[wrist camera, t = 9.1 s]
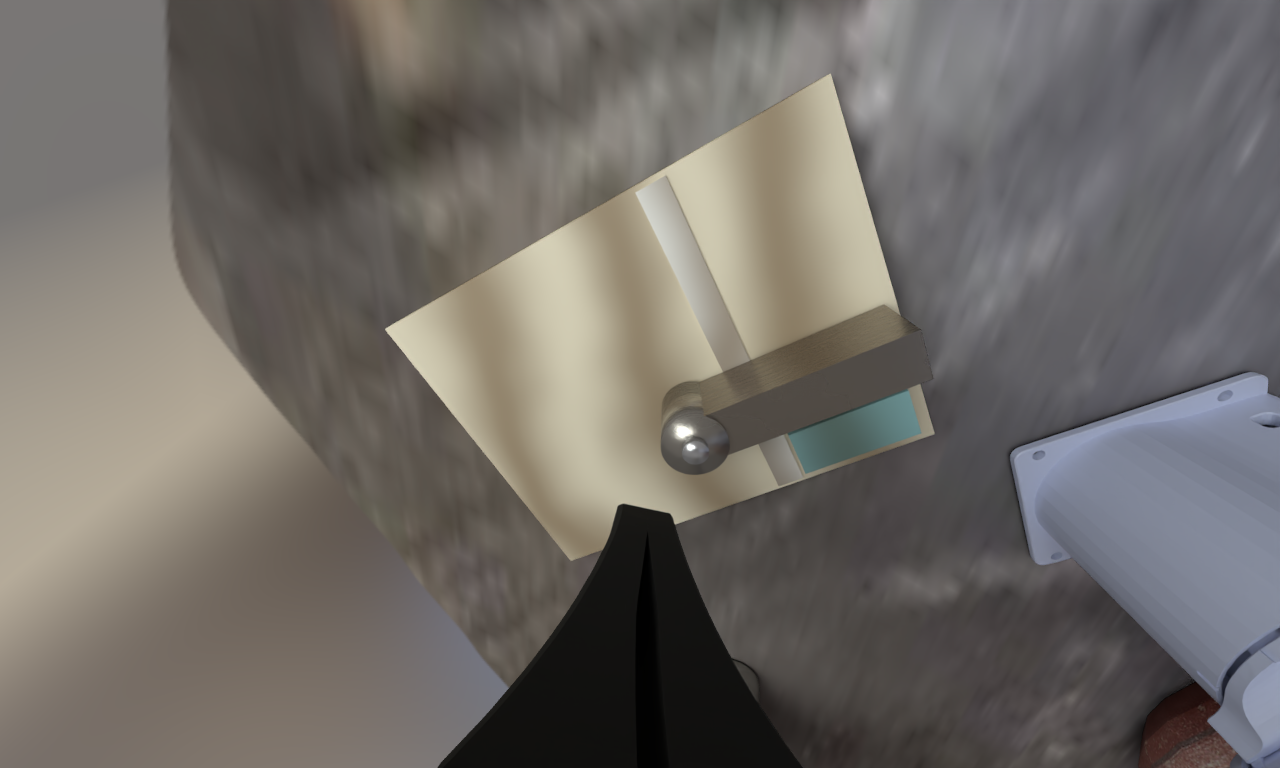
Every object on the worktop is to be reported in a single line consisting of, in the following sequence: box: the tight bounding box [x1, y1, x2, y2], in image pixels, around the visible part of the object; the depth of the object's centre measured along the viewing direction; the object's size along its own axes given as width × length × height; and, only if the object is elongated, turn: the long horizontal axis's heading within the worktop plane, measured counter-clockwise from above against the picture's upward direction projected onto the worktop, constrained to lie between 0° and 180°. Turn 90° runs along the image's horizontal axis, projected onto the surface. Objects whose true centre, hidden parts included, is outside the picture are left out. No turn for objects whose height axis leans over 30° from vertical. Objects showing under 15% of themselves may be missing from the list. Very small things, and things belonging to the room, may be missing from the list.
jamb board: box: [385, 74, 935, 561], centre depth 19 cm, size 19×15×4 cm
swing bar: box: [661, 304, 933, 475], centre depth 17 cm, size 10×3×3 cm, turn 117°
